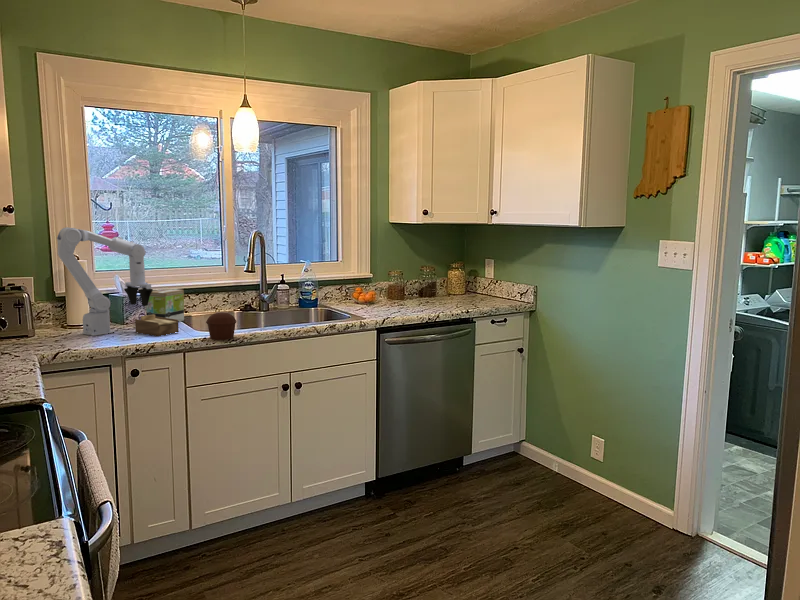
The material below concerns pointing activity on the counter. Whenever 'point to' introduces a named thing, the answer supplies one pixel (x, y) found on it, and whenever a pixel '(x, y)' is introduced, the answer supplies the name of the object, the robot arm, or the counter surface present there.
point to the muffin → (221, 326)
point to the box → (156, 327)
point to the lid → (156, 320)
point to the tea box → (166, 304)
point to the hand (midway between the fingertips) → (139, 305)
